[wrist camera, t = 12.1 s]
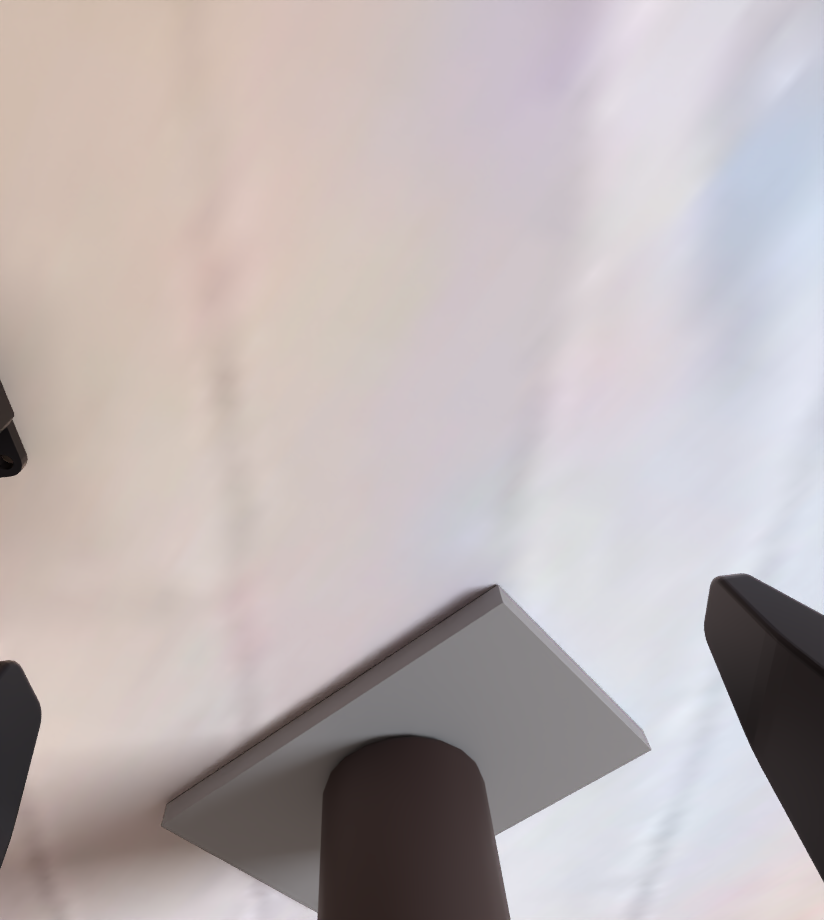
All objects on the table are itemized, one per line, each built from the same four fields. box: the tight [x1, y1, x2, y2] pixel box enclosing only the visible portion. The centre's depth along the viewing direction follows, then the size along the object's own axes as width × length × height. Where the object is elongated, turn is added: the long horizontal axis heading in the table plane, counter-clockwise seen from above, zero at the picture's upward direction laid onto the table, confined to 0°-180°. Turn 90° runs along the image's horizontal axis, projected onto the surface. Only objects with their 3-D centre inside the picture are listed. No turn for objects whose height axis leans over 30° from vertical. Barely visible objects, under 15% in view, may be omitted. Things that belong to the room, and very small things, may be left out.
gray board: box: [161, 585, 651, 913], centre depth 29 cm, size 11×18×1 cm, turn 130°
